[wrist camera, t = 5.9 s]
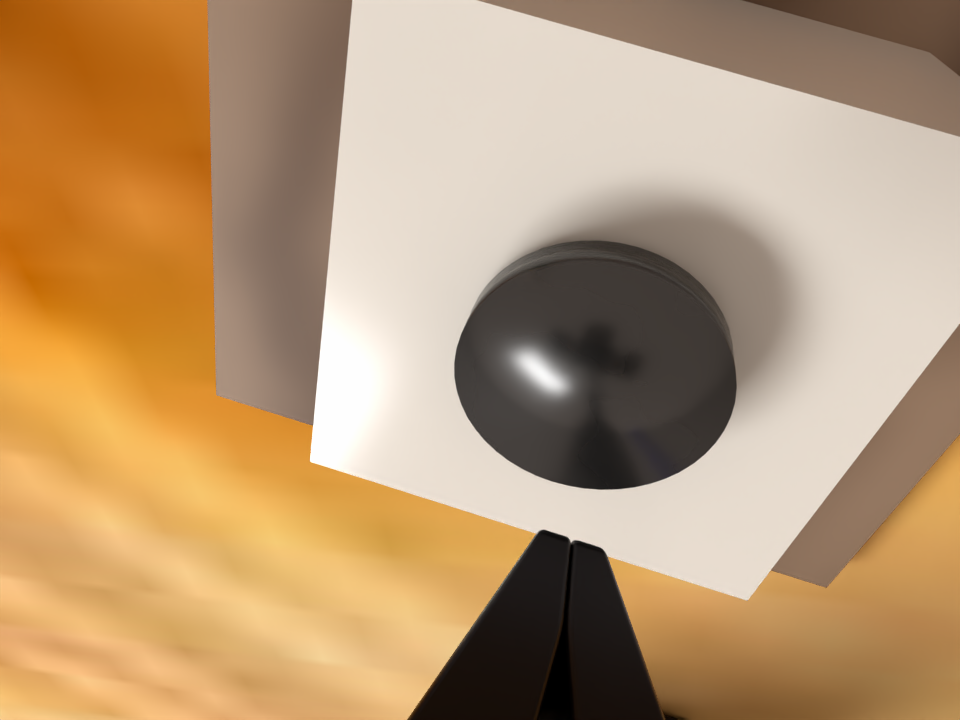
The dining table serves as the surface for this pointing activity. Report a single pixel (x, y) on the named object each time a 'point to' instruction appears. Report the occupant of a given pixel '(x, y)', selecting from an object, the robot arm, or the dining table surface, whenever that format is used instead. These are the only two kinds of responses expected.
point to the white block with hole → (640, 244)
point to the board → (308, 221)
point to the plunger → (597, 366)
